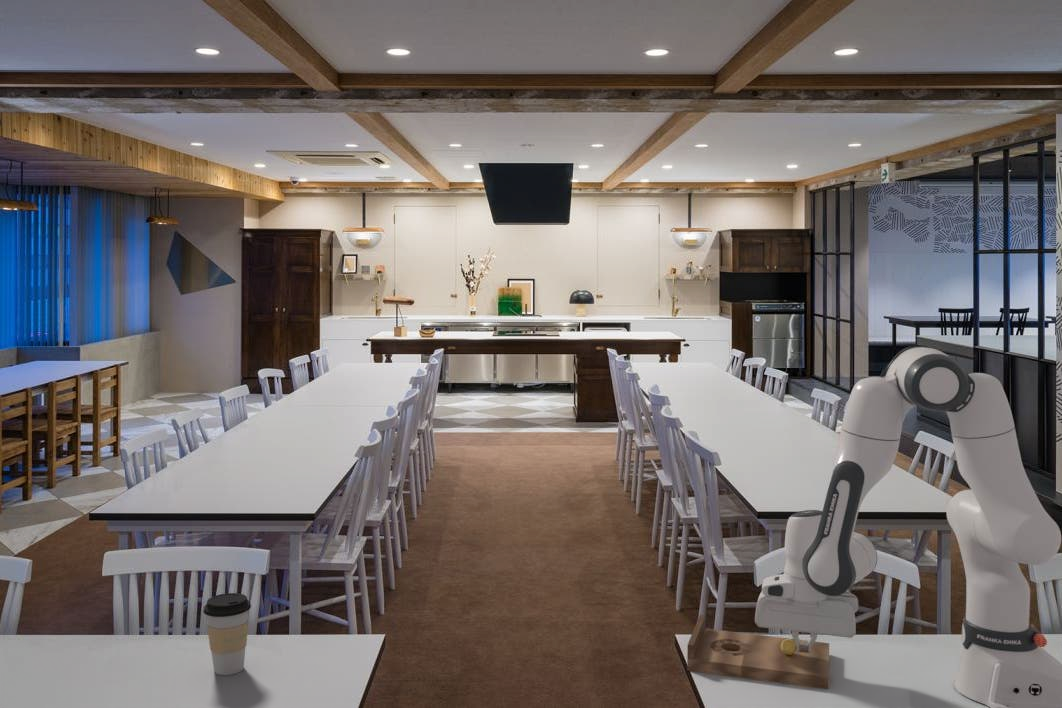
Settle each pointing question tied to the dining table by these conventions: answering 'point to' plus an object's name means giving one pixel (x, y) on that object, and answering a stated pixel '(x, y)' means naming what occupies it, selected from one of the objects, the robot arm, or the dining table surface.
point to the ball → (788, 646)
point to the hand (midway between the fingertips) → (803, 651)
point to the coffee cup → (227, 631)
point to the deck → (756, 657)
